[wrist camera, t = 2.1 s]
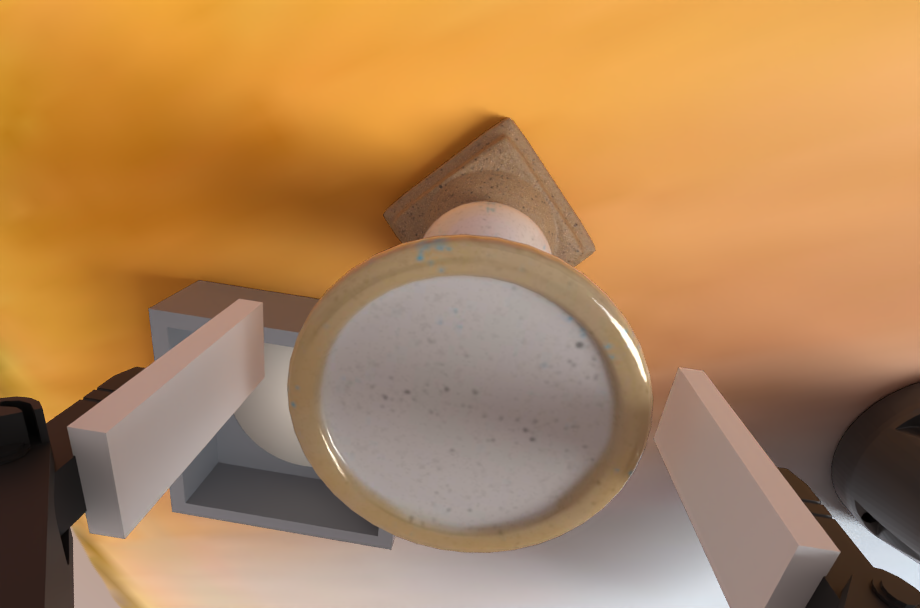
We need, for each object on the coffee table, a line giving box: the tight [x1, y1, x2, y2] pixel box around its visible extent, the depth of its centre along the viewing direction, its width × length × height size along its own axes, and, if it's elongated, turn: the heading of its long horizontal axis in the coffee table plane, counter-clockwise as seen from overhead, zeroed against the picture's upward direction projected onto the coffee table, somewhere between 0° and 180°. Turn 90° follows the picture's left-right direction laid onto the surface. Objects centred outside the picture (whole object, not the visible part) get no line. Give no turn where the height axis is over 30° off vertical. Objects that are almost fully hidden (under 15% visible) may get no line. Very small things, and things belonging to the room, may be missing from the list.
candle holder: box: [287, 118, 653, 553], centre depth 25 cm, size 11×11×24 cm
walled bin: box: [149, 280, 395, 550], centre depth 40 cm, size 18×18×6 cm
